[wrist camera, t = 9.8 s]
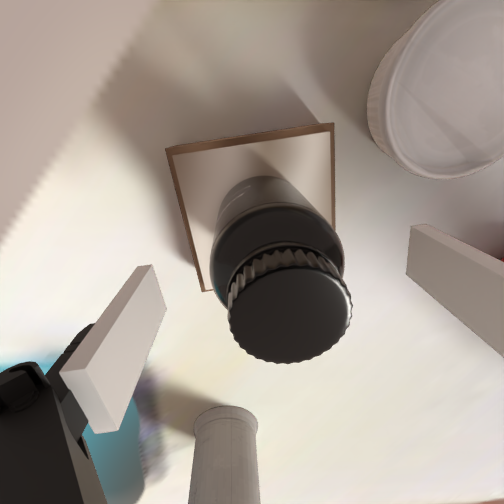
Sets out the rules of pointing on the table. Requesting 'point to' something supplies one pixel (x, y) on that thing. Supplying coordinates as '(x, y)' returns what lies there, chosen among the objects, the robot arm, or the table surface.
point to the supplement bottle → (278, 272)
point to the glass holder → (225, 458)
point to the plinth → (246, 166)
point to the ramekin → (443, 91)
